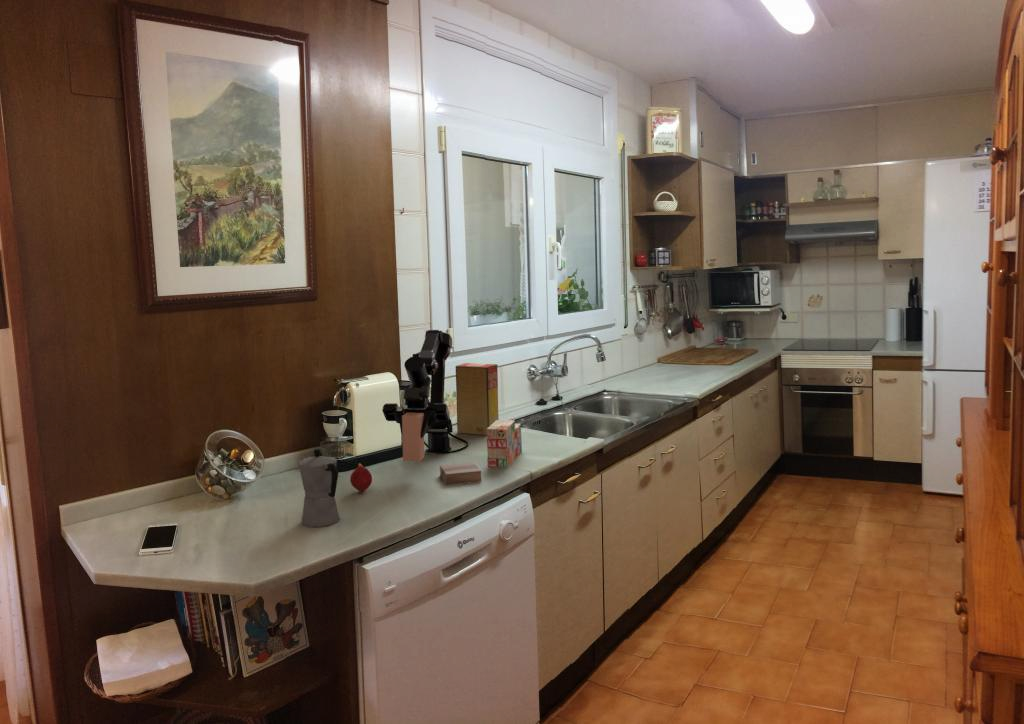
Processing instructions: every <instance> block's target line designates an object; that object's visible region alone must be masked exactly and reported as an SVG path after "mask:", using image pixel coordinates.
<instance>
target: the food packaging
mask: <svg viewBox="0 0 1024 724" xmlns="http://www.w3.org/2000/svg"><path fill="white" fill-rule="evenodd" d="M498 375H499V374H498V364H497V363H474V362H473V363H471V362H465V363H461V364H458V365H455V385H456V386H455V387H456V388H455V390H456V423H457V424H456V427H457V429H456V430H457V431H456V432H457V434H462V435H473V436H485V437H487V428H488V427H490V426H491V425H492V424H493V423H494V422H495V421H496V420H500V419H499V386H498V385H499V383H498V382H499V377H498Z"/></svg>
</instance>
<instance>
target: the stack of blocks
mask: <svg viewBox="0 0 1024 724" xmlns="http://www.w3.org/2000/svg"><path fill="white" fill-rule="evenodd" d="M515 421H516V420H511V419H509V420H508V419H507V420H506V419H504V420H503V419H499V420H496V421H495V422H494V423H493V424H492V425H491V426H490V427H488V428H487V436H486V449H487V451H486V452H487V468H495V467H508V468H509V466H510V465H512V464H513V462H514V461H515V459H516V458H517V457H518V456H519V454H520V453H521V452H522V450H523V447H522V446H523V445H522V442H523V441H522V423H516V422H515ZM516 456H517V457H516Z"/></svg>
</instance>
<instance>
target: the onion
mask: <svg viewBox="0 0 1024 724" xmlns="http://www.w3.org/2000/svg"><path fill="white" fill-rule="evenodd" d="M349 478H350V484H351V486H352V487H353V488H354V489H355V490H357V491H358V492H359V493H364V492H365V491H366V490H367V489H368V488H369V487H370V486H371V485H372V482H373V476H372V473H371V472H370V471H369V469H368V468H366V467H365V466H364V465H362V464H361V463H358V465H357V467H356V468H355V469H354V470H353V471H352V473H351V475H350V477H349Z"/></svg>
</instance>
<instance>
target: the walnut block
mask: <svg viewBox="0 0 1024 724" xmlns="http://www.w3.org/2000/svg"><path fill="white" fill-rule="evenodd" d="M439 474H440V475H439V476H440V477H441V479H442V480H443V482H444V484H445V485H446V486H451V485H459V484H460V483H461V484H469V483H468V482H471V483H479V482H478V481H481V482H482V470H481V469H480V468H479V466H477V464H475V462H474V461H471V462H461V463H450V464H449V463H448V464H440V465H439Z"/></svg>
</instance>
